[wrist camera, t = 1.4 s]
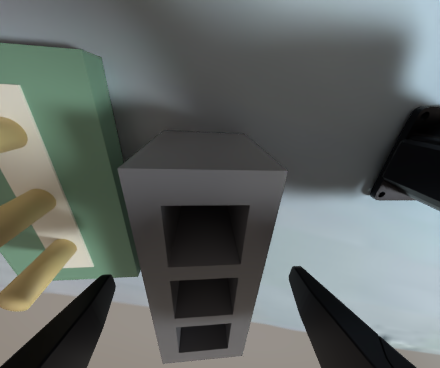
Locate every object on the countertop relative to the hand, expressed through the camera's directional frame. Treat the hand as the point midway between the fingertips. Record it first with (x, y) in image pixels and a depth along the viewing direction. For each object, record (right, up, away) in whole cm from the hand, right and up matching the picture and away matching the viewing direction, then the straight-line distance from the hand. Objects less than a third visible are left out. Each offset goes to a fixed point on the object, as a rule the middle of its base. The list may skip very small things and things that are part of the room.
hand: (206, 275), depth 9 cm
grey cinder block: (-1, +2, +4) cm, 5 cm away
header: (-9, +4, +2) cm, 11 cm away
